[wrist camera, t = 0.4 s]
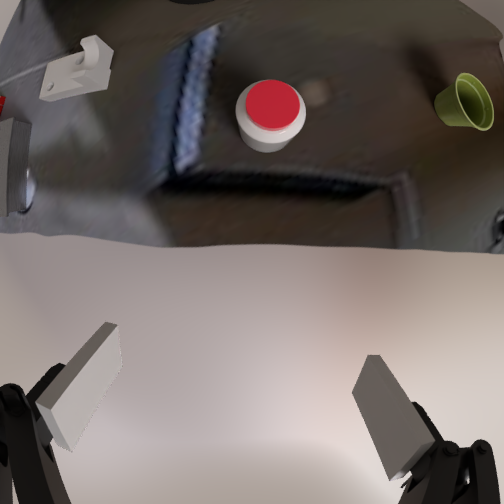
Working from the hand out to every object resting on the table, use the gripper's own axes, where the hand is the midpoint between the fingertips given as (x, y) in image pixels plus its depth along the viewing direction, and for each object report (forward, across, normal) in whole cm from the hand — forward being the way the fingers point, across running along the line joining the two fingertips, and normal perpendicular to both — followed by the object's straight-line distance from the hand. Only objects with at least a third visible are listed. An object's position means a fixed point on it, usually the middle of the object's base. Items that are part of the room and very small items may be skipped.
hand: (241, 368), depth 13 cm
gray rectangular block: (+27, -47, +9) cm, 55 cm away
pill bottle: (+27, 0, +17) cm, 32 cm away
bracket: (+28, -32, +25) cm, 49 cm away
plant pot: (+28, +31, +29) cm, 51 cm away
